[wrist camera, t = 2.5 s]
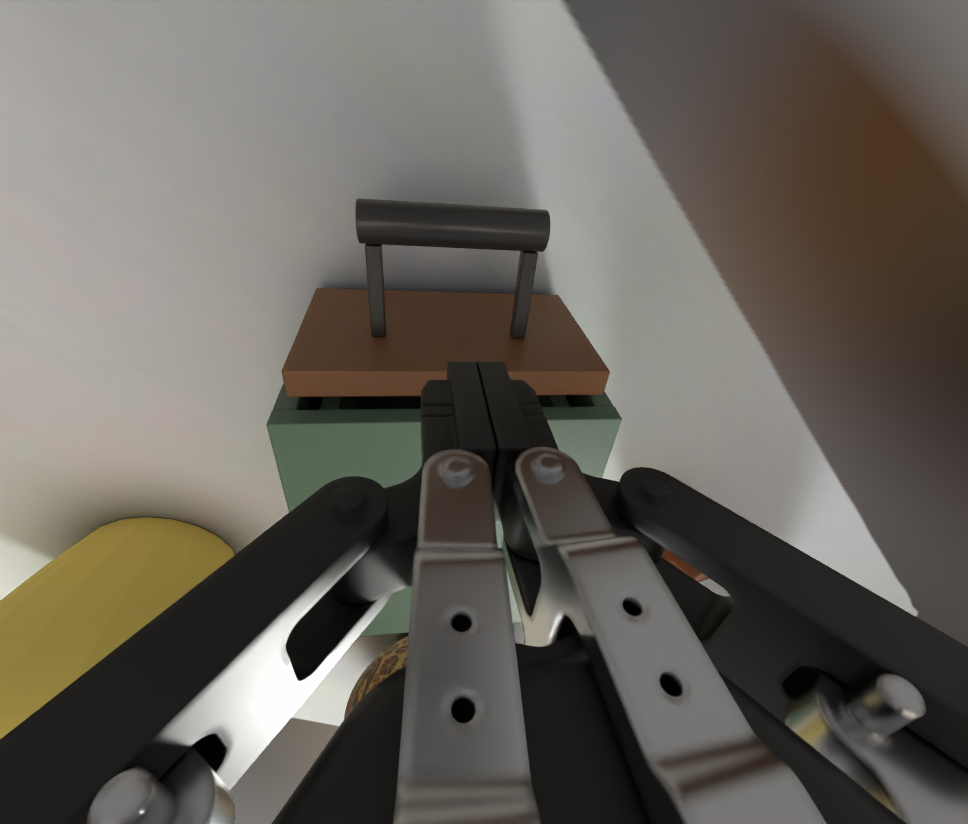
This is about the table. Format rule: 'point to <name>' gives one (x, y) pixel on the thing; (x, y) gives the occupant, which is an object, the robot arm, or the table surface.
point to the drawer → (439, 317)
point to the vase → (94, 604)
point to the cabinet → (406, 458)
